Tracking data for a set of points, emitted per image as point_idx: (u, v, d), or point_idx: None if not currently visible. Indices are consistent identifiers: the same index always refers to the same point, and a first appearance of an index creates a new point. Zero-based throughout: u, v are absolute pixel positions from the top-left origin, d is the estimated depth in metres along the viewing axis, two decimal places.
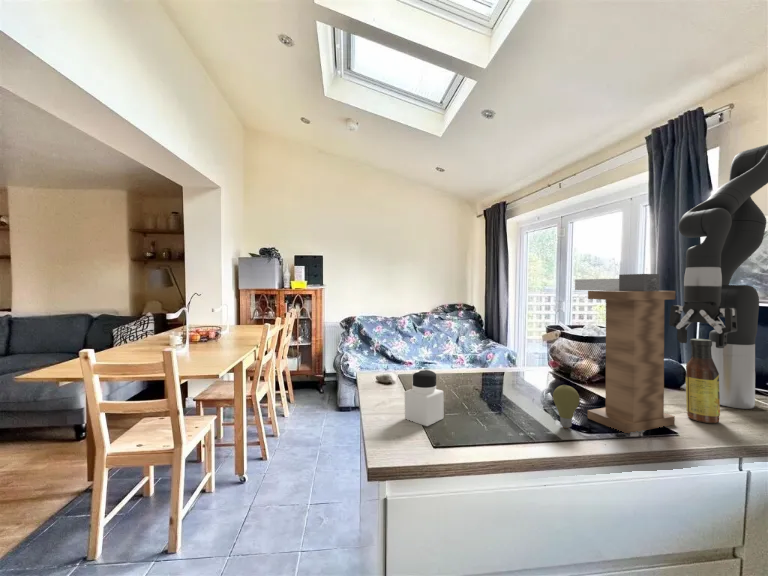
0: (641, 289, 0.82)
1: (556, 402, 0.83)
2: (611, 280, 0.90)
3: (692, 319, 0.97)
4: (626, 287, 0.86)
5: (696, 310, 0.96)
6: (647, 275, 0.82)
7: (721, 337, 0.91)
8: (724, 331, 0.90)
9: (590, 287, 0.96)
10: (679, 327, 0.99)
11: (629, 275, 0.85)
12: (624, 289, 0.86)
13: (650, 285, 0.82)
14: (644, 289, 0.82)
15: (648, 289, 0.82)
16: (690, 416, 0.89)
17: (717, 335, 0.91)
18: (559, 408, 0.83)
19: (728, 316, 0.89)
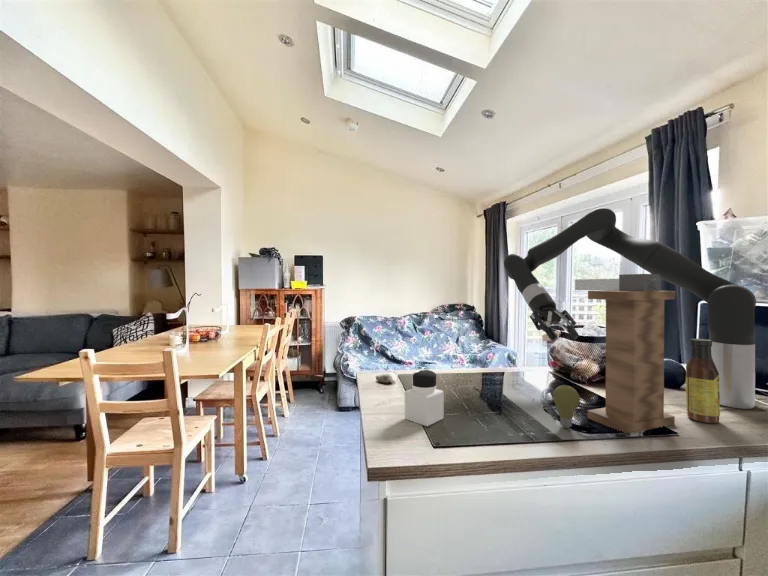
0: (641, 289, 0.82)
1: (556, 402, 0.83)
2: (611, 280, 0.90)
3: (552, 319, 1.14)
4: (626, 287, 0.86)
5: None
6: (647, 275, 0.82)
7: (573, 329, 1.13)
8: None
9: (590, 287, 0.96)
10: (549, 325, 1.11)
11: (629, 275, 0.85)
12: (624, 289, 0.86)
13: (650, 285, 0.82)
14: (644, 289, 0.82)
15: (648, 289, 0.82)
16: (690, 416, 0.89)
17: (572, 327, 1.13)
18: (559, 408, 0.83)
19: (568, 314, 1.17)
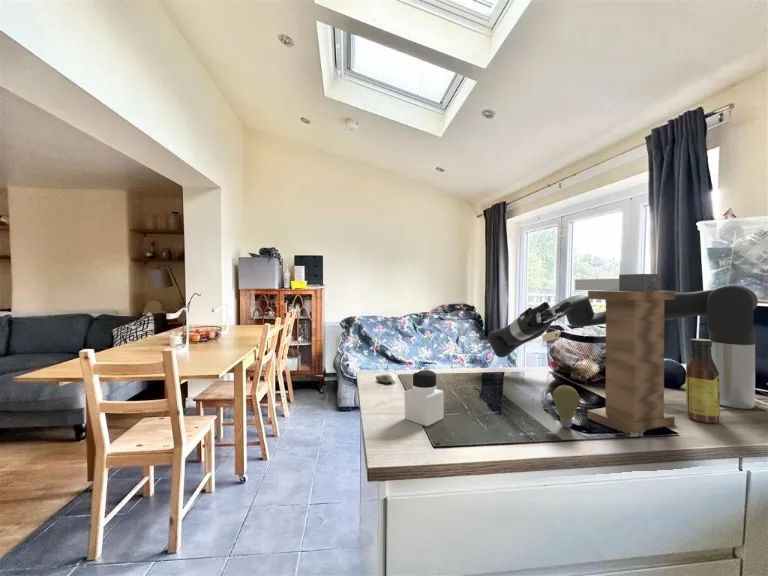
0: (641, 289, 0.82)
1: (556, 402, 0.83)
2: (611, 280, 0.90)
3: None
4: (626, 287, 0.86)
5: None
6: (647, 275, 0.82)
7: None
8: None
9: (590, 287, 0.96)
10: None
11: (629, 275, 0.85)
12: (624, 289, 0.86)
13: (650, 285, 0.82)
14: (644, 289, 0.82)
15: (648, 289, 0.82)
16: (690, 416, 0.89)
17: None
18: (559, 408, 0.83)
19: None
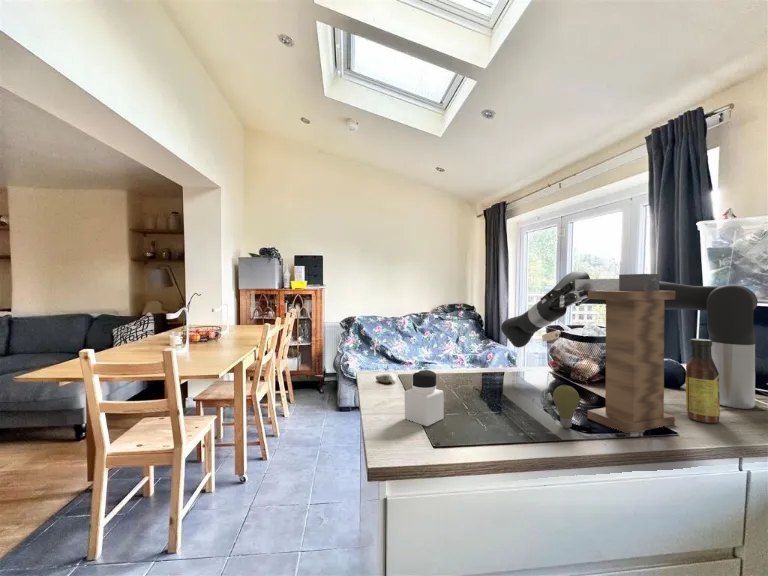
0: (641, 289, 0.82)
1: (556, 402, 0.83)
2: (611, 280, 0.90)
3: None
4: (626, 287, 0.86)
5: None
6: (647, 275, 0.82)
7: None
8: None
9: (590, 287, 0.96)
10: None
11: (629, 275, 0.85)
12: (624, 289, 0.86)
13: (650, 285, 0.82)
14: (644, 289, 0.82)
15: (648, 289, 0.82)
16: (690, 416, 0.89)
17: None
18: (559, 408, 0.83)
19: None
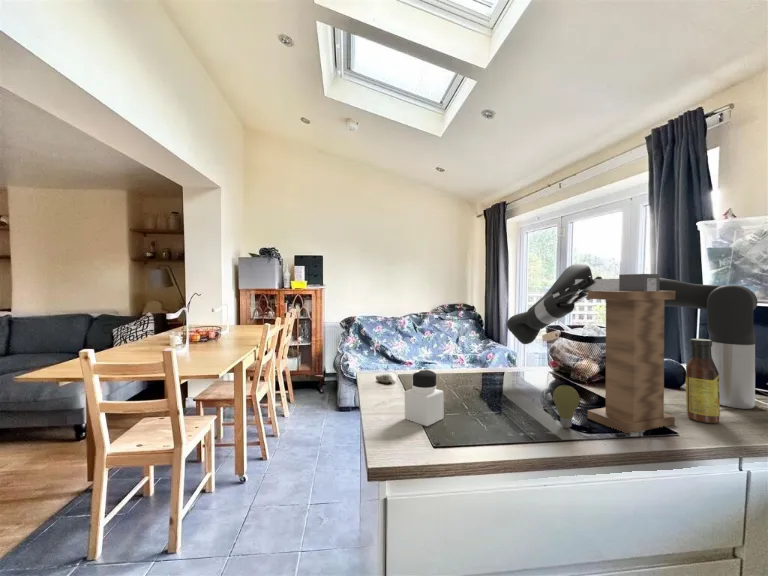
0: (641, 289, 0.82)
1: (556, 402, 0.83)
2: (611, 280, 0.90)
3: None
4: (626, 287, 0.86)
5: None
6: (647, 275, 0.82)
7: None
8: None
9: (590, 287, 0.96)
10: None
11: (629, 275, 0.85)
12: (624, 289, 0.86)
13: (650, 285, 0.82)
14: (644, 289, 0.82)
15: (648, 289, 0.82)
16: (690, 416, 0.89)
17: None
18: (559, 408, 0.83)
19: None
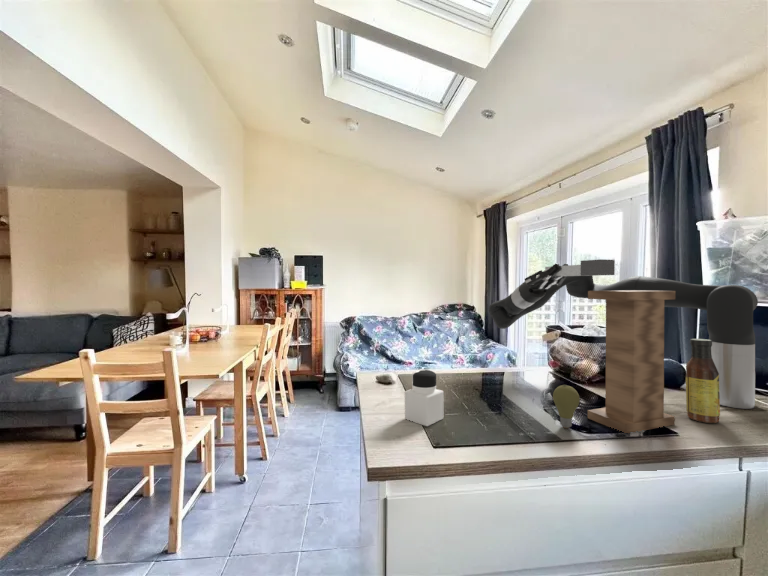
0: (598, 273, 0.93)
1: (556, 402, 0.83)
2: (574, 266, 1.01)
3: None
4: (586, 272, 0.96)
5: None
6: (603, 260, 0.92)
7: None
8: None
9: (557, 273, 1.07)
10: None
11: (589, 261, 0.95)
12: (584, 273, 0.96)
13: (606, 269, 0.93)
14: (600, 273, 0.92)
15: (604, 273, 0.93)
16: (690, 416, 0.89)
17: None
18: (559, 408, 0.83)
19: None
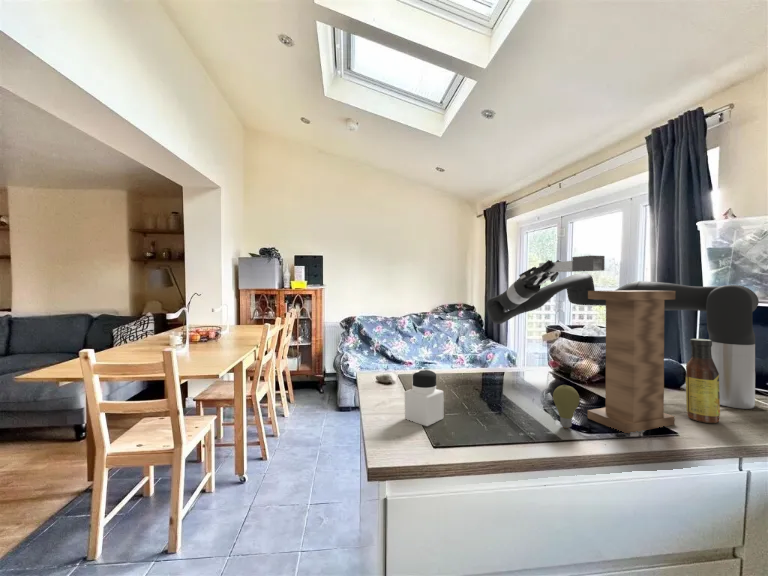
0: (588, 268, 0.97)
1: (556, 402, 0.83)
2: (566, 262, 1.05)
3: None
4: (577, 267, 1.00)
5: None
6: (593, 256, 0.96)
7: None
8: None
9: (550, 269, 1.11)
10: None
11: (580, 257, 0.99)
12: (576, 269, 1.01)
13: (596, 265, 0.97)
14: (591, 268, 0.96)
15: (594, 268, 0.97)
16: (690, 416, 0.89)
17: None
18: (559, 408, 0.83)
19: None
